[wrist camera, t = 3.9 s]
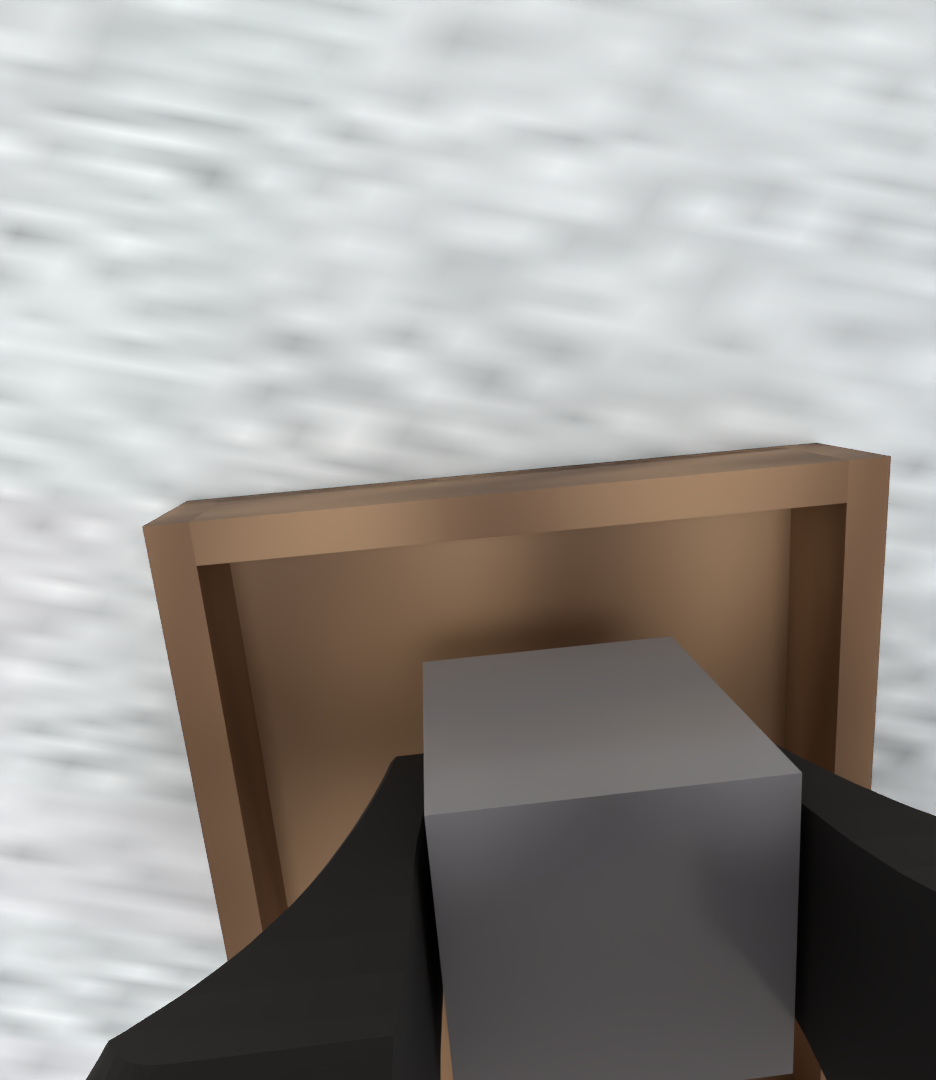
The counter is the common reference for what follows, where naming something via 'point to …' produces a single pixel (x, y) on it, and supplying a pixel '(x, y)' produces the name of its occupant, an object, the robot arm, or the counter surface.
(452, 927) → the grey cube
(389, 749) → the walnut bin
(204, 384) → the counter surface
